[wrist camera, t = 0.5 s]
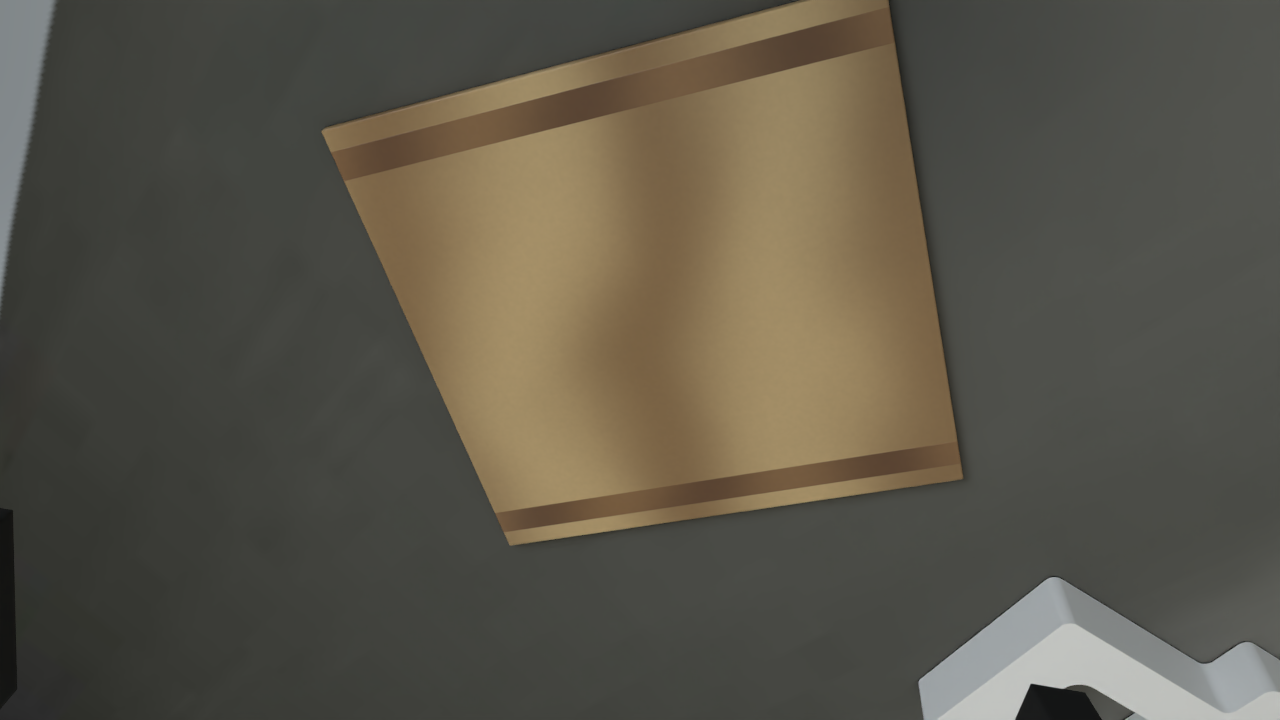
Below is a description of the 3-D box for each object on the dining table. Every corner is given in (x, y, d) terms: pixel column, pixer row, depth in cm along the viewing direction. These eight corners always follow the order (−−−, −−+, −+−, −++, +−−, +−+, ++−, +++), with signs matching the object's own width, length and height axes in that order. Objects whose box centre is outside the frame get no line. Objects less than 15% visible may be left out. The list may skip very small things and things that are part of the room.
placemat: (884, -23, 31) (885, -20, 31) (962, 473, 41) (963, 479, 41) (324, 127, 36) (320, 130, 36) (511, 540, 46) (509, 546, 45)
